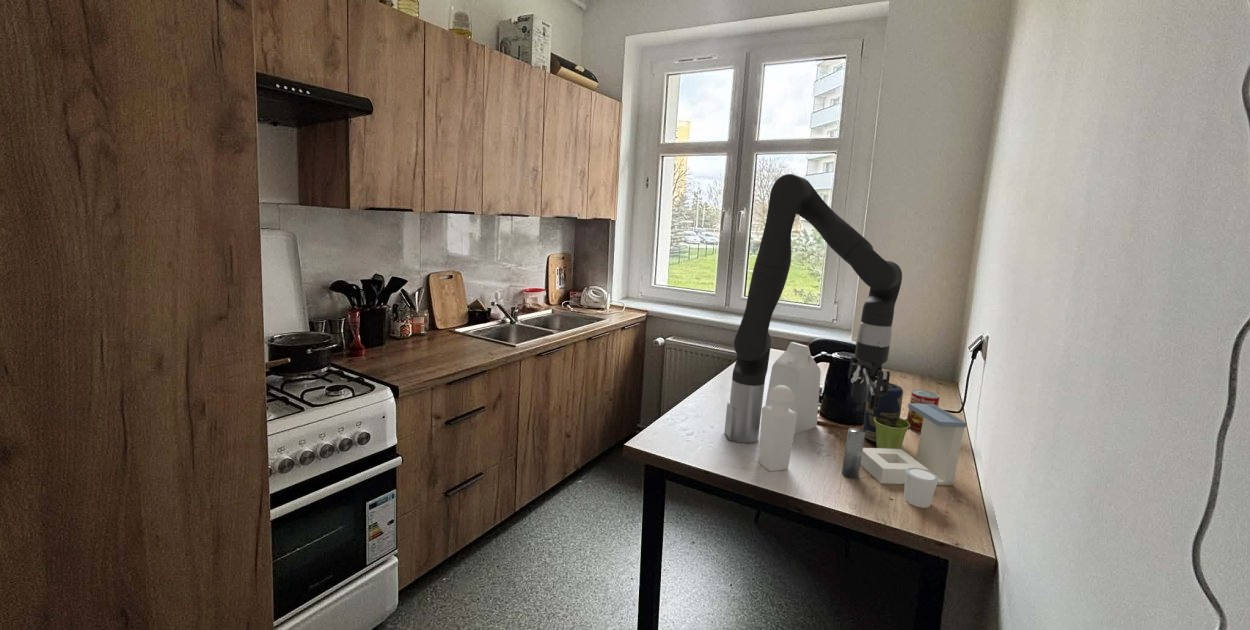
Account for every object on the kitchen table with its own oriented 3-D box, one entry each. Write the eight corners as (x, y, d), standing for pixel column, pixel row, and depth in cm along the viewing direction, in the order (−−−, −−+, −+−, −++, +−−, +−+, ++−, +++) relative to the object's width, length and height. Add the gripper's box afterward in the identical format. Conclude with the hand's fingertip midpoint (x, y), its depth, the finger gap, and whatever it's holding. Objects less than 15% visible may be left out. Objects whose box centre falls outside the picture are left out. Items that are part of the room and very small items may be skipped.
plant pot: (892, 459, 148) (896, 430, 146) (863, 446, 156) (866, 418, 154) (913, 452, 152) (917, 424, 151) (883, 440, 160) (887, 413, 159)
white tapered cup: (902, 504, 124) (907, 476, 122) (899, 491, 130) (903, 464, 129) (936, 512, 121) (941, 483, 120) (930, 497, 128) (935, 471, 126)
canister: (891, 449, 154) (899, 390, 150) (857, 439, 160) (864, 382, 156) (899, 438, 161) (907, 382, 158) (867, 429, 167) (874, 375, 164)
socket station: (881, 484, 133) (892, 420, 130) (856, 460, 146) (865, 401, 142) (954, 486, 134) (966, 422, 131) (922, 462, 147) (933, 404, 144)
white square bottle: (775, 459, 143) (785, 380, 139) (791, 470, 137) (801, 389, 133) (755, 461, 141) (764, 382, 137) (769, 473, 135) (779, 390, 131)
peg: (846, 478, 135) (853, 434, 132) (838, 471, 139) (845, 427, 136) (861, 479, 135) (868, 434, 133) (853, 471, 139) (860, 428, 137)
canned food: (901, 427, 173) (907, 392, 170) (911, 422, 178) (917, 388, 176) (927, 435, 167) (934, 399, 165) (936, 430, 172) (943, 395, 170)
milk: (816, 426, 168) (827, 347, 163) (793, 433, 162) (804, 350, 157) (785, 414, 178) (795, 338, 173) (762, 419, 171) (771, 341, 167)
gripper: (844, 334, 139) (836, 393, 142) (875, 348, 125) (864, 413, 128) (872, 335, 140) (862, 394, 143) (905, 349, 126) (894, 414, 129)
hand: (863, 403), depth 135 cm, fingers open, 8 cm apart
